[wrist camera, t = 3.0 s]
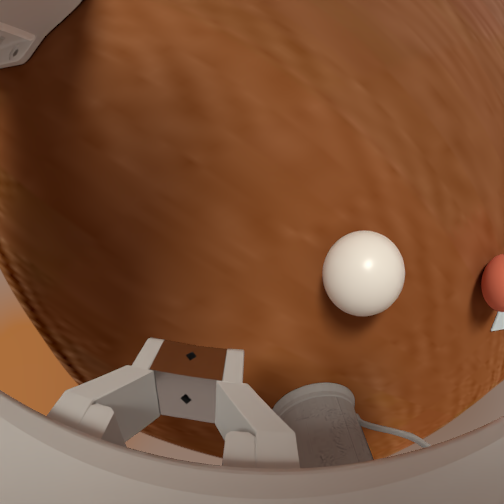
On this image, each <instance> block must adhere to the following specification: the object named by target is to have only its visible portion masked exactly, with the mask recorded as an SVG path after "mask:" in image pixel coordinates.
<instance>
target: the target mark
mask: <svg viewBox="0 0 504 504" xmlns="http://www.w3.org/2000/svg"><path fill="white" fill-rule="evenodd" d="M501 329H504V312H499V311H498V313H497V315H496V318H495V320H494V323H493V325H492V328H491V331H495V330H501Z"/></svg>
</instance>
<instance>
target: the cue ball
mask: <svg viewBox="0 0 504 504" xmlns="http://www.w3.org/2000/svg"><path fill="white" fill-rule="evenodd" d="M322 275H323V284H324V287H325V290H326V292H327V295H328V296H329V298H330V300H331V301H332V302H333V303H334V304H335V305H336V306H337V307H338V308H339V309H341V310H342V311H344V312H346V313H348V314H351V315H355V316H371V315H375V314H378V313H380V312H382V311H384V310H386V309H387V308H388V307H390V306H391V305H392V304H393V303H394V302H395V300H396V299H397V298H398V296H399V294H400V292H401V290H402V287H403V284H404V279H405V267H404V262H403V258H402V256H401V254H400V252H399V250H398V248H397V247H396V246H395V245H394V244H393V242H392V241H390V240H389V239H388V238H387V237H385V236H383V235H381V234H379V233H376V232H372V231H356V232H352V233H350V234H347V235H345V236H343V237H342V238H340V239H339V240H338V241H337V242H336V243H335V244H334V245H333V246H332V247H331V249H330V250H329V252H328V254H327V256H326V258H325V261H324V265H323V272H322Z"/></svg>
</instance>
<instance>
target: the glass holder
mask: <svg viewBox="0 0 504 504" xmlns="http://www.w3.org/2000/svg"><path fill="white" fill-rule="evenodd" d="M354 406H355V399H354V395H353V394H352V392H351V391H350V390H349V389H348V388H347V387H344V386H342V385H339V384H336V383H316V384H310V385H306V386H303V387H300V388H298V389H295V390H293V391H291V392H289V393H288V394H286V395H285V396H283V397H282V398H281V399H280V400H279V401H278V402H277V403H276V404H275V406H274V408H273V409H272V410H273V411H274V412H275V413H276V414H277V415H278V416H279V417H280V418H281V419H282V420H283V421H284V422H285V423H286V424H287V425H288V426H289V427H290V428H291V429H292V430H293V431H294V432H295V435H296V443H297V450H298V457H299V464H300V468H314V467H327V466H337V465H345V464H352V463H359V462H365V461H371V460H374V459H373V457H372V454H371V451H370V449H369V446H368V443H367V441H366V438H365V436H364V433H363V430H362V428H361V426H363V427H366V428H369V429H372V430H376V431H380V432H385V433H389V434H393V435H397V436H400V437H403V438H406V439H409V440H411V441H413V442H415V443H417V444H418V445H420V446H421V447H423V448H426V447H429V446H431V445H430V444H428V443H427V442H425V441H424V440H423V439H421V438H419V437H418V436H416V435H414V434H412V433H409V432H406V431H402V430H398V429H394V428H390V427H385V426H381V425H377V424H373V423H369V422H366V421H363V420H362V419H361V418H360V417H359V415H358V414H356V413H355V410H354Z"/></svg>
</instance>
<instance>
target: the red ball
mask: <svg viewBox="0 0 504 504" xmlns="http://www.w3.org/2000/svg"><path fill="white" fill-rule="evenodd" d="M481 288H482V294H483V297H484V299H485V301H486V303H487V304H488V305H489V306H490V307H491V308H492V309H494V310H496V311H499V312H504V254H501V255H498V256H496V257H494V258H493V259H492V260H491V261H490V262H489V263H488V264H487V266H486V267H485V269H484V272H483V275H482V281H481Z"/></svg>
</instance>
